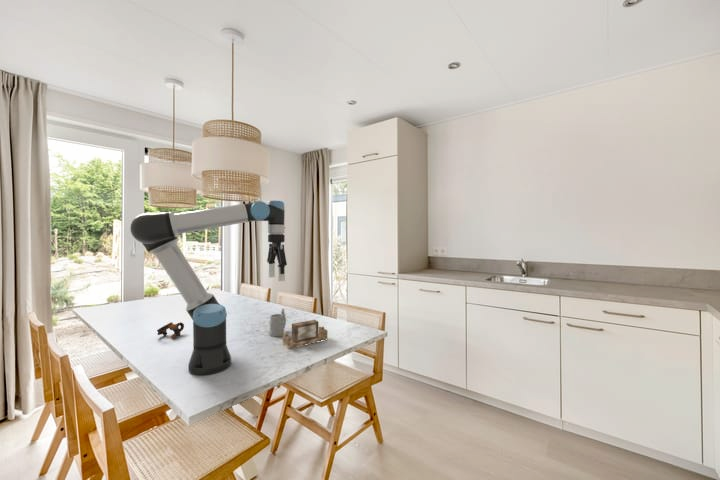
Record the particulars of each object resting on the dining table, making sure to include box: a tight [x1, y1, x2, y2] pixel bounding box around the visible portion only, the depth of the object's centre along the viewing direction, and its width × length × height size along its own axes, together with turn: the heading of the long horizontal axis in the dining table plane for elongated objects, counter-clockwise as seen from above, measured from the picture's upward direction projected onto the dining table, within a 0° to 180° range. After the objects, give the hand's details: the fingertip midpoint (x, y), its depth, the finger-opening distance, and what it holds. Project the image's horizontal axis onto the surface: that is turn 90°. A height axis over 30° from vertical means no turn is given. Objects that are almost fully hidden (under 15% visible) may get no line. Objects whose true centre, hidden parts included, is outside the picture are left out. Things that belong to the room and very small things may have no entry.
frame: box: [291, 319, 319, 343], centre depth 148 cm, size 12×4×8 cm, turn 124°
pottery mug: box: [156, 321, 185, 340], centre depth 156 cm, size 12×10×8 cm
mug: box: [268, 308, 287, 338], centre depth 161 cm, size 8×12×12 cm, turn 162°
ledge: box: [282, 326, 328, 350], centre depth 148 cm, size 20×7×6 cm, turn 124°
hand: (276, 279), depth 145 cm, fingers open, 13 cm apart
